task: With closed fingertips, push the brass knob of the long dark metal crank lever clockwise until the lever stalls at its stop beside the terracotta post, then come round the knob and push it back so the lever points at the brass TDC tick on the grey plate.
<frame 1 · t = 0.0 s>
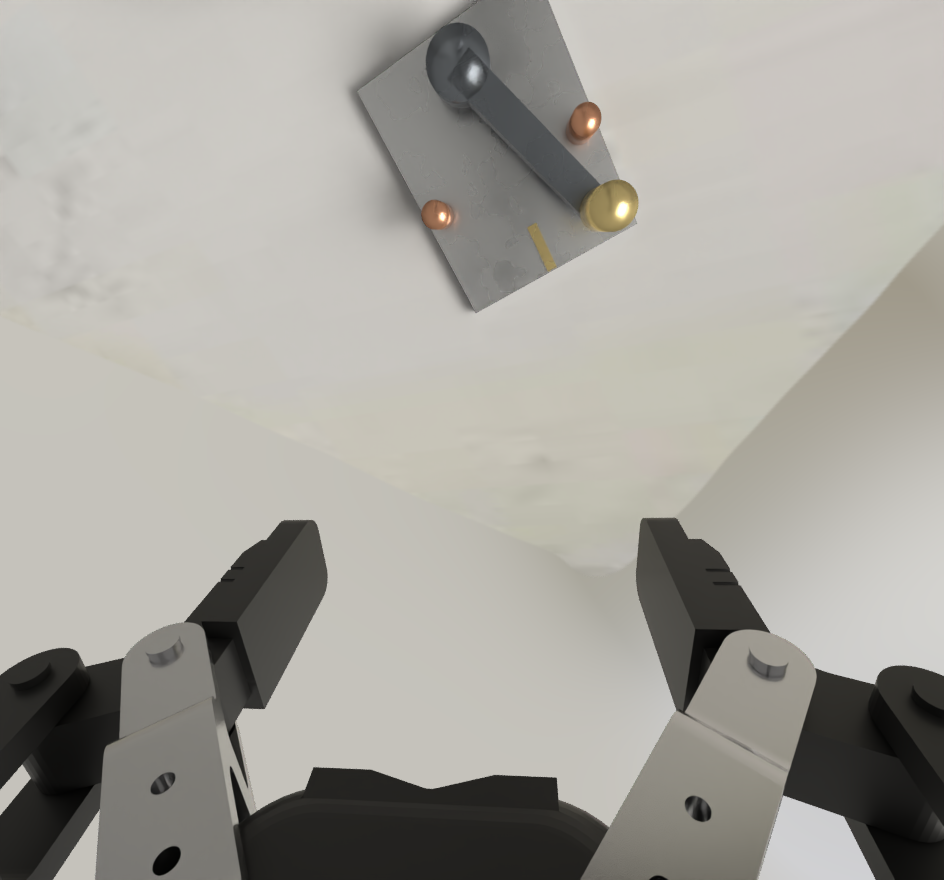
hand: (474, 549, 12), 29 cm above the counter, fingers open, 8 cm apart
crank base: (464, 82, 33), on the counter
crank lever: (528, 130, 29), point 6 cm above the counter, hinge at 20.0°
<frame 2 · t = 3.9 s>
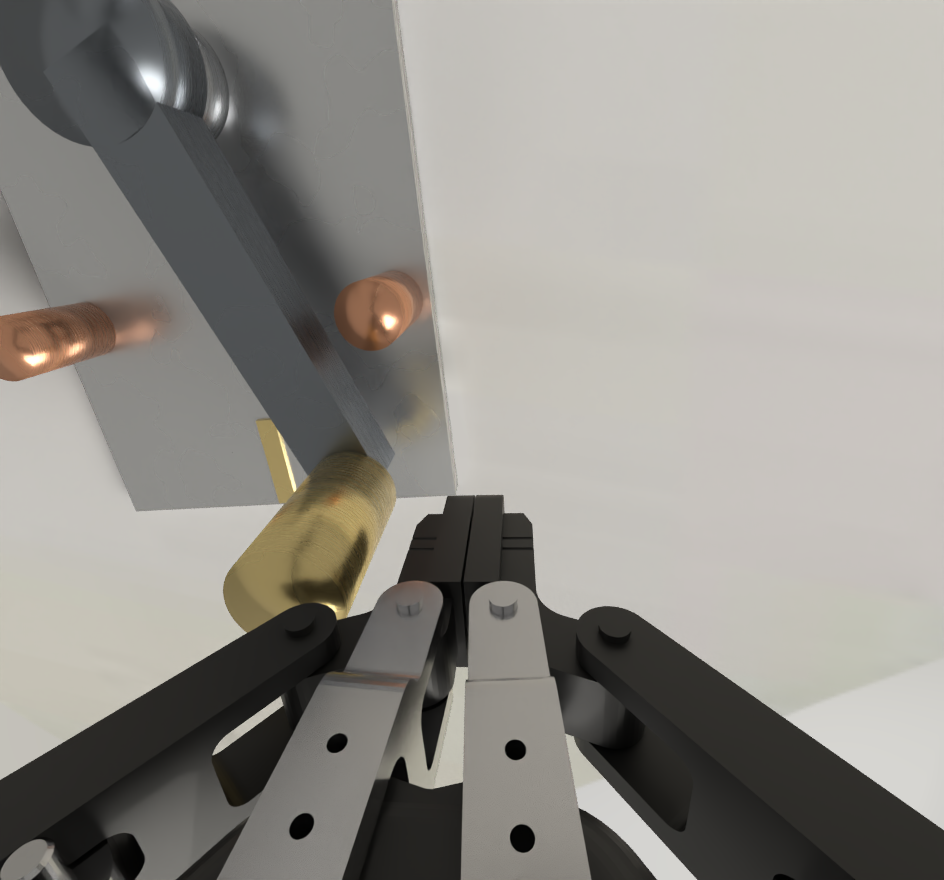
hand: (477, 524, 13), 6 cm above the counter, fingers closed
crank base: (190, 95, 15), on the counter
crank lever: (193, 299, 11), point 6 cm above the counter, hinge at 19.6°, touching gripper
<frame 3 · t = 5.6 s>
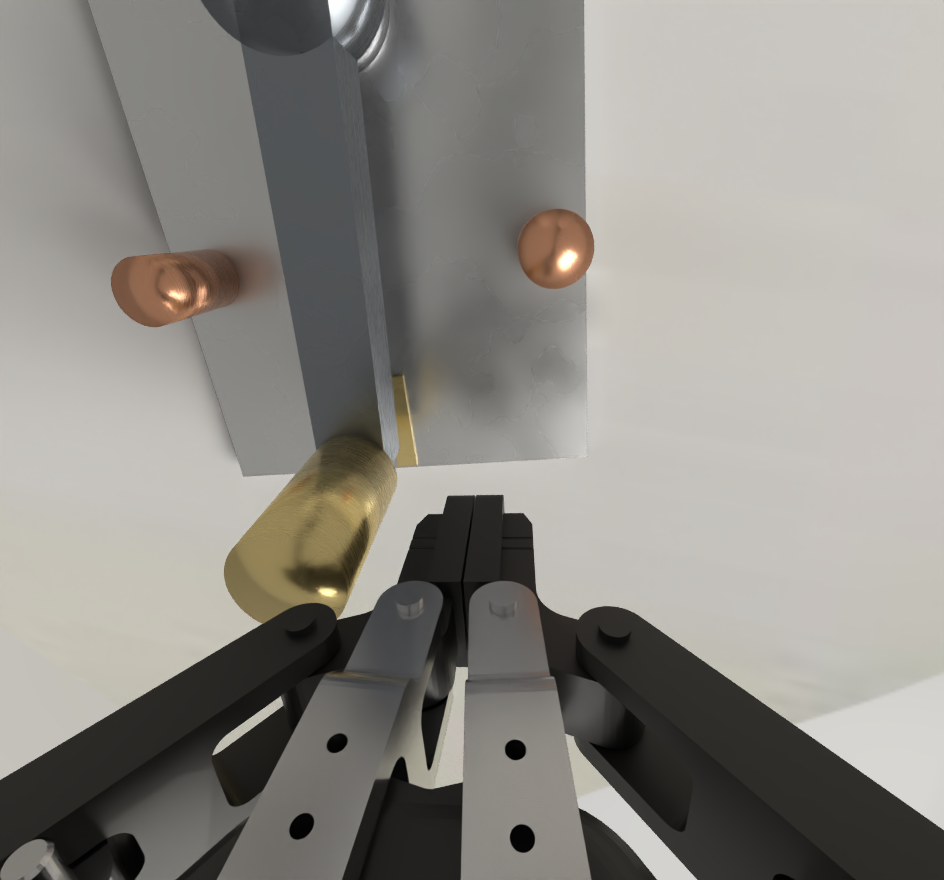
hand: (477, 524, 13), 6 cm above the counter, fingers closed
crank base: (339, 16, 13), on the counter
crank lever: (293, 251, 11), point 6 cm above the counter, hinge at -3.7°, touching gripper
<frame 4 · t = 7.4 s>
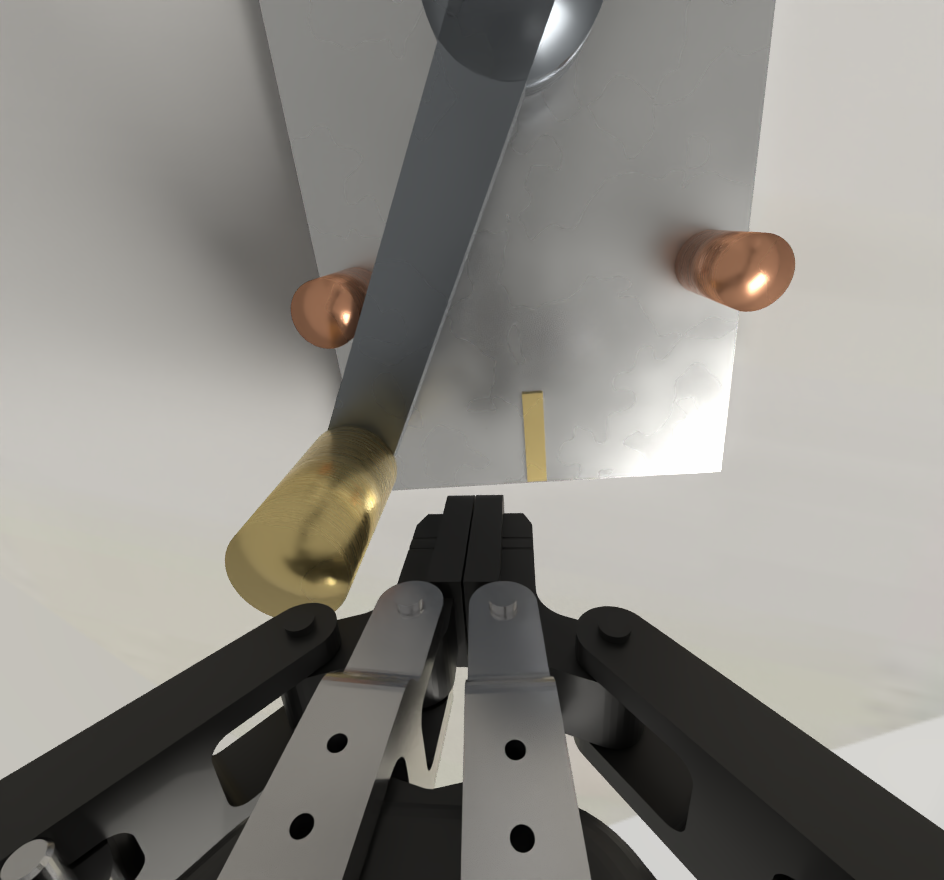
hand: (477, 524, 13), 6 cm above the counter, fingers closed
crank base: (511, 35, 13), on the counter
crank lever: (409, 258, 11), point 6 cm above the counter, hinge at -26.9°, touching gripper
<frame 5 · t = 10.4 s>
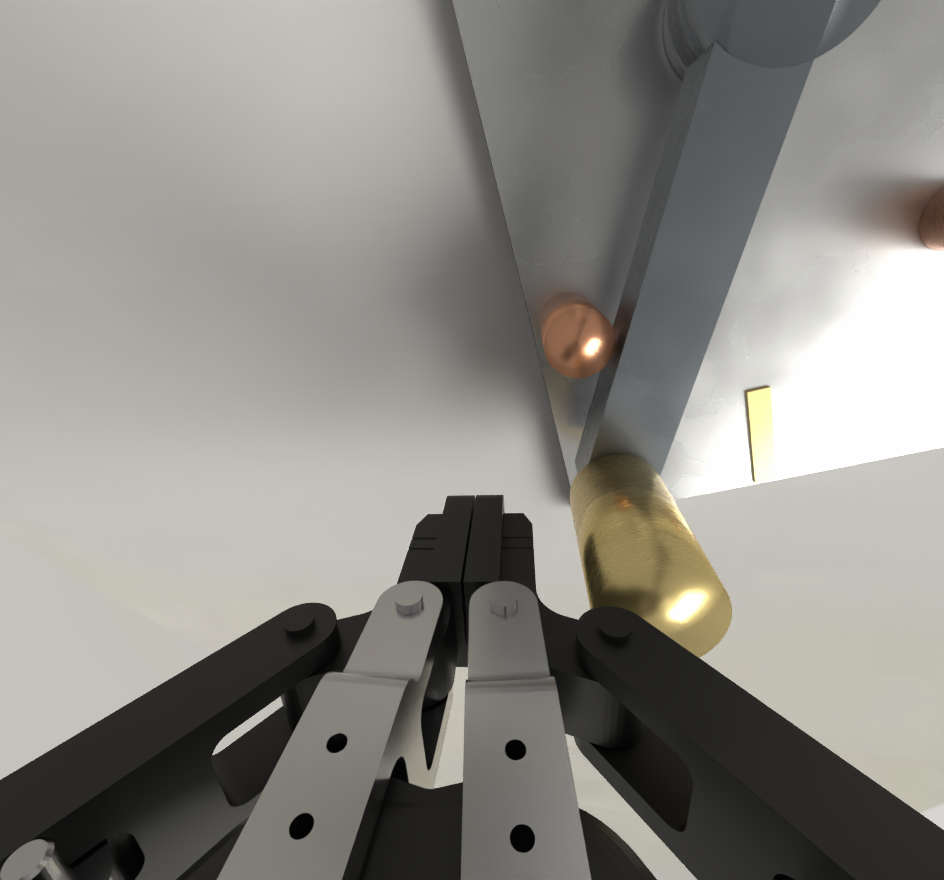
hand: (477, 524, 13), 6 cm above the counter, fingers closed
crank base: (716, 28, 13), on the counter
crank lever: (717, 268, 10), point 6 cm above the counter, hinge at -26.0°, touching gripper
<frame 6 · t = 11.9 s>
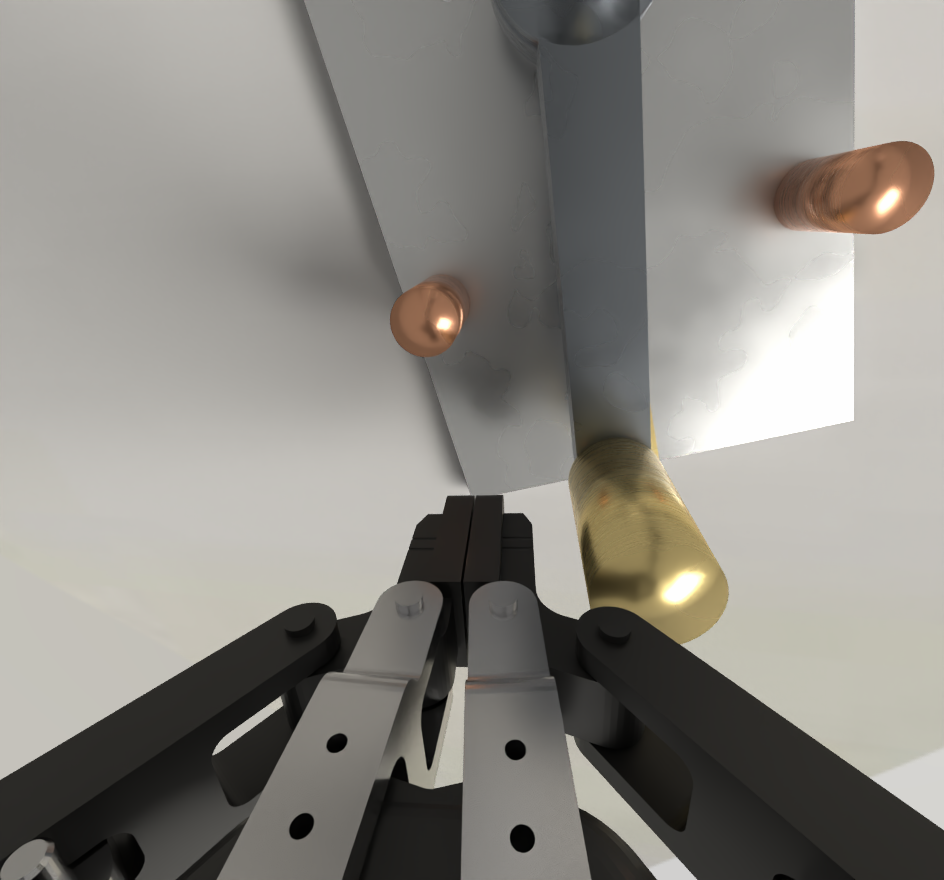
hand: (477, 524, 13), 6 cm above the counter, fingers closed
crank base: (564, 7, 13), on the counter
crank lever: (611, 246, 10), point 6 cm above the counter, hinge at -7.0°, touching gripper
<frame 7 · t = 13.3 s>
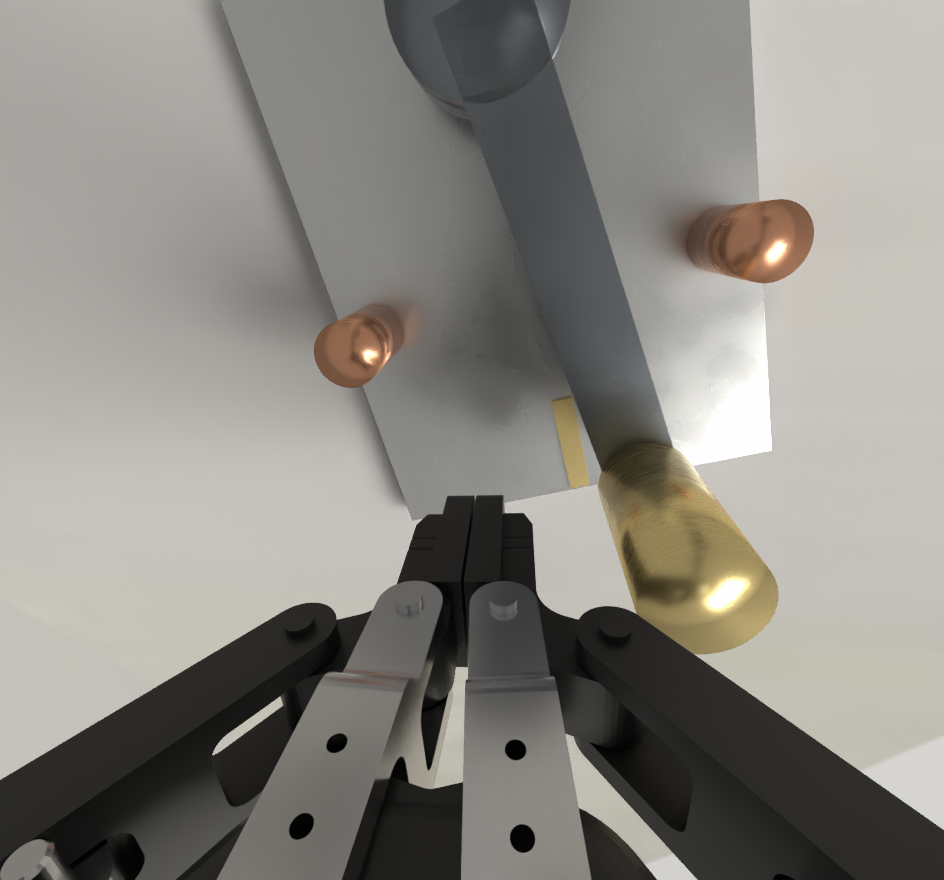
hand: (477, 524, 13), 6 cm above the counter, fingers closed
crank base: (487, 58, 14), on the counter
crank lever: (578, 272, 10), point 6 cm above the counter, hinge at 8.3°
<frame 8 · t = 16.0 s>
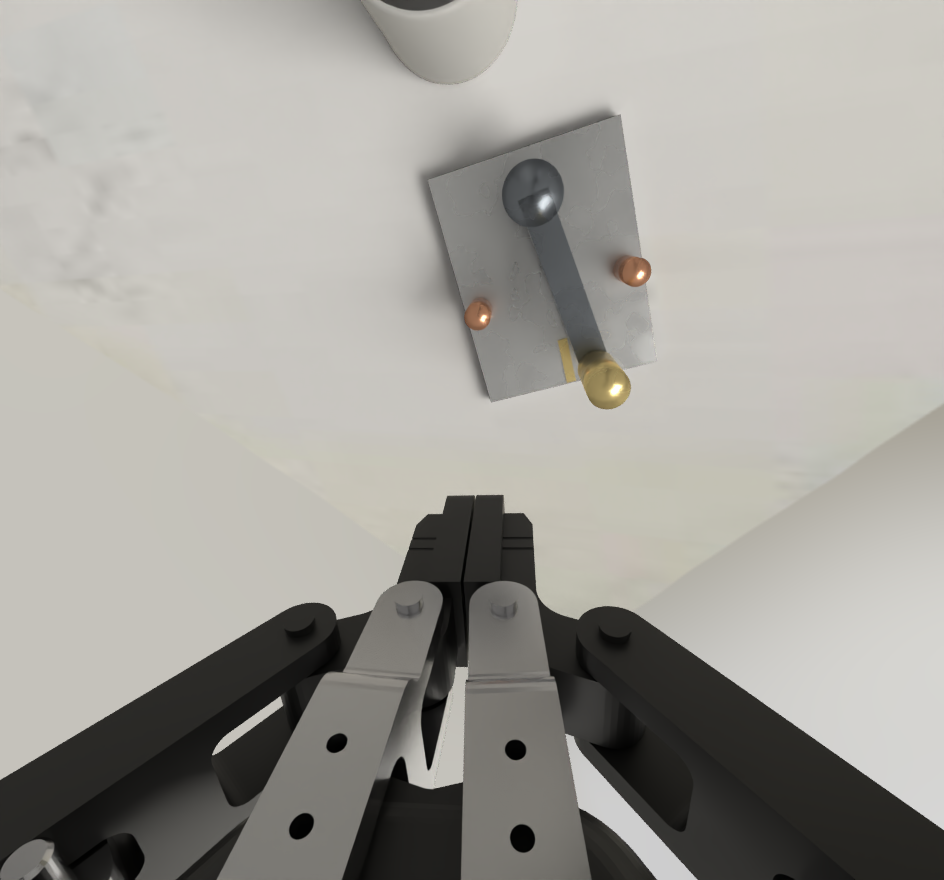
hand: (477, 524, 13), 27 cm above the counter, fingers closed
crank base: (530, 197, 34), on the counter
crank lever: (567, 284, 31), point 6 cm above the counter, hinge at 8.3°
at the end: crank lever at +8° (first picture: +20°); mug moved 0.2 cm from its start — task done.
